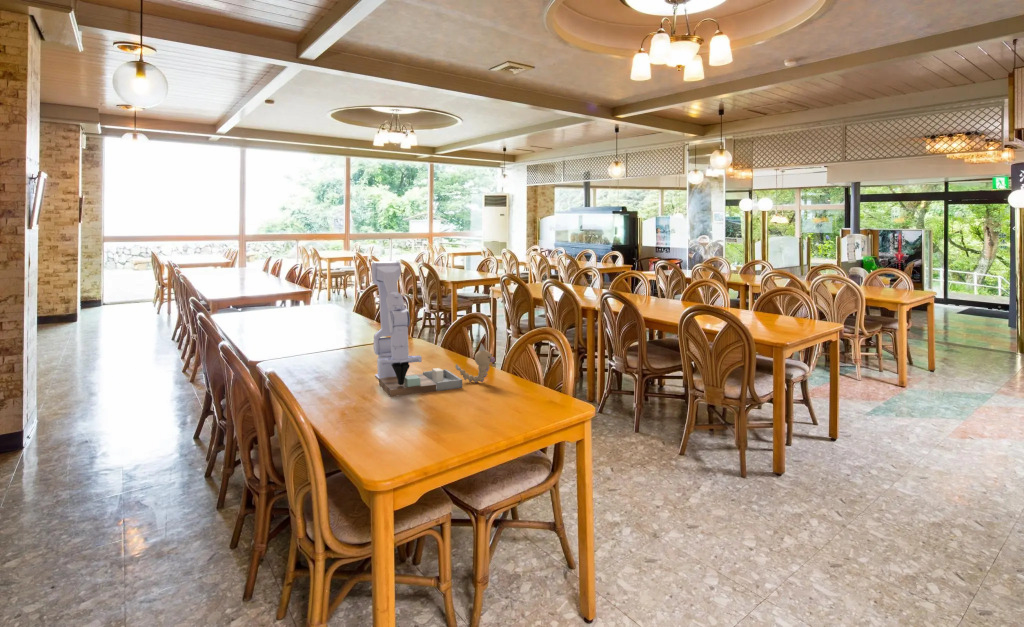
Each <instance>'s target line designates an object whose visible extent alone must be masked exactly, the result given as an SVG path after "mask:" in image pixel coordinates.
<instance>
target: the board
mask: <svg viewBox="0 0 1024 627" xmlns="http://www.w3.org/2000/svg"><path fill="white" fill-rule="evenodd" d="M413 375H417V376H418V377H420V384H421V385H420V386H411V387H407V386H406V385H405V384H404V385H399V384H398V380H397V376H395V377H386V378H379V379H378V385H379V386H380V387H381V388H382V390H383V391H384V392H385V393H386V394H387V395H388V396H389V397H390V398H393V397H394V396H395V397H401V396H409V395H419V394H425V393H434V392H437V390H436V384H435V383H434V382H432V381H431V380H430V379H428V378H427V377H426V376H424V375H423V373H414V374H406V376H413Z"/></svg>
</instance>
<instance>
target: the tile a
mask: <svg viewBox="0 0 1024 627" xmlns="http://www.w3.org/2000/svg"><path fill="white" fill-rule="evenodd" d="M443 370H444V369H442V368H440V367H437V368H435V367H434V368H431V371H432V381H434V382H435V383H437V382H442V381H443Z"/></svg>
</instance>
